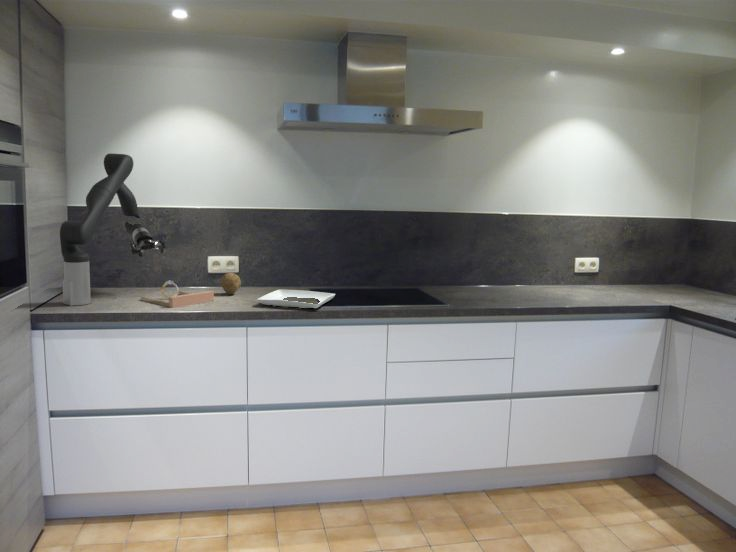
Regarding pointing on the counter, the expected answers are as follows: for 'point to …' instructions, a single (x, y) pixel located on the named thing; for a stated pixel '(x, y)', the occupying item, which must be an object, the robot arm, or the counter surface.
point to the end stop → (191, 299)
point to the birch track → (161, 300)
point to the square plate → (279, 295)
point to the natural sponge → (230, 283)
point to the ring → (166, 285)
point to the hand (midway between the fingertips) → (151, 253)
